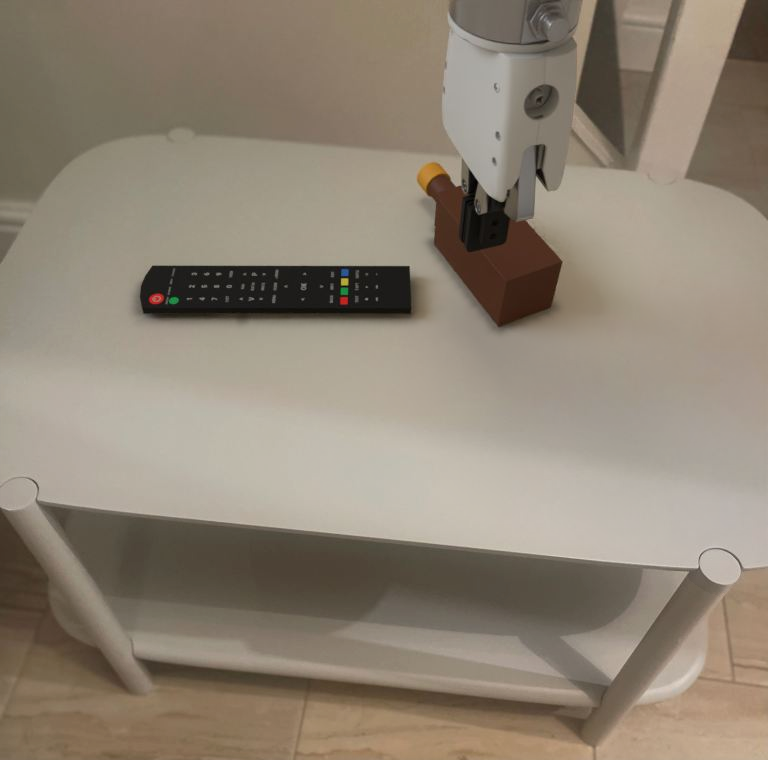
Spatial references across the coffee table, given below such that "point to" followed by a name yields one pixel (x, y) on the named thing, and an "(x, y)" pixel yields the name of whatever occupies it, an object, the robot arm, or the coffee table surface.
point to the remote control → (277, 290)
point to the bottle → (493, 256)
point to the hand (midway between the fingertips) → (482, 241)
